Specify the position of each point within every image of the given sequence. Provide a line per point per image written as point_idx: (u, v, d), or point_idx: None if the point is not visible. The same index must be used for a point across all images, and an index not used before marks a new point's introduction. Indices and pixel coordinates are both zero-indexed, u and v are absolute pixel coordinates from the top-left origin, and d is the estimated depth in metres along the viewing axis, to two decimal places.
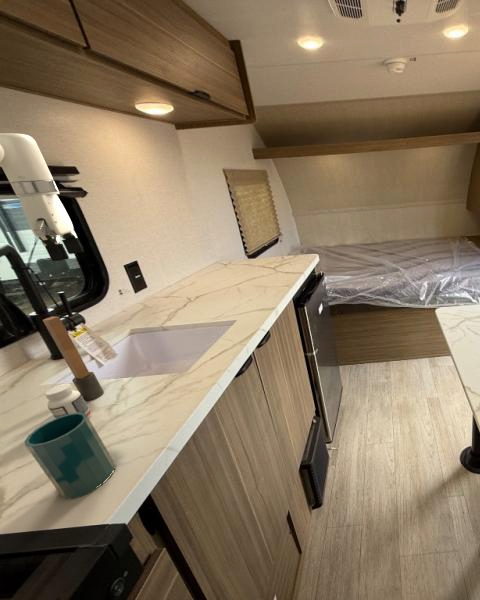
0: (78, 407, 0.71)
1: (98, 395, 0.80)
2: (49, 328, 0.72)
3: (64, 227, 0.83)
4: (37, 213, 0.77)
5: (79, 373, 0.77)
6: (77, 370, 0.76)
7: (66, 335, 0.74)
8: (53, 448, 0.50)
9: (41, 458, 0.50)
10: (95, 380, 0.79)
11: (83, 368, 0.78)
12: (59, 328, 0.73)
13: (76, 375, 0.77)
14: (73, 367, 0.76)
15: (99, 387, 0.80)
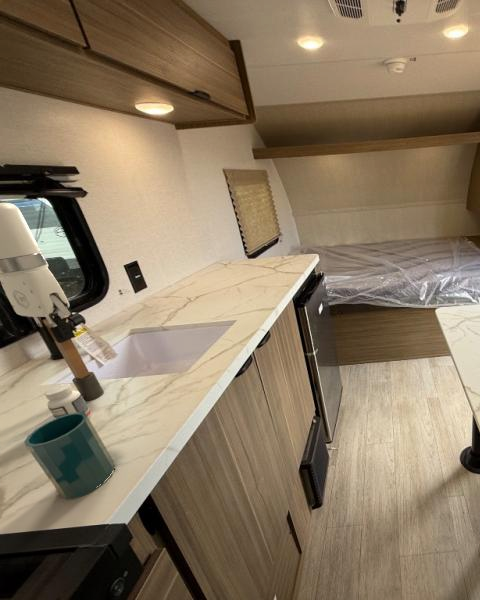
0: (78, 407, 0.71)
1: (98, 395, 0.80)
2: (49, 328, 0.72)
3: None
4: (49, 288, 0.68)
5: (79, 373, 0.77)
6: (77, 370, 0.76)
7: None
8: (53, 448, 0.50)
9: (41, 458, 0.50)
10: (95, 380, 0.79)
11: (83, 368, 0.78)
12: None
13: (76, 375, 0.77)
14: (73, 367, 0.76)
15: (99, 387, 0.80)
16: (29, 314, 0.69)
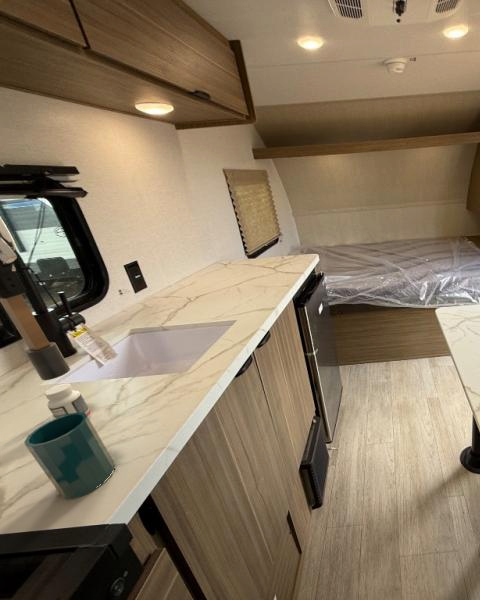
0: (78, 407, 0.71)
1: (62, 373, 0.60)
2: None
3: None
4: None
5: (34, 342, 0.57)
6: (31, 338, 0.57)
7: None
8: (53, 448, 0.50)
9: (41, 458, 0.50)
10: (57, 353, 0.60)
11: (40, 336, 0.58)
12: None
13: (30, 345, 0.58)
14: (25, 333, 0.57)
15: (63, 362, 0.61)
16: None
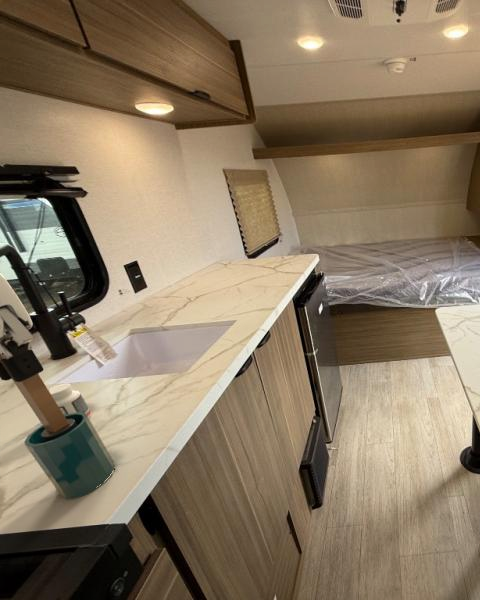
0: (78, 407, 0.71)
1: None
2: None
3: None
4: None
5: (52, 424, 0.51)
6: (48, 421, 0.51)
7: None
8: (53, 448, 0.50)
9: (41, 458, 0.50)
10: None
11: (58, 416, 0.52)
12: None
13: (46, 427, 0.51)
14: (42, 415, 0.50)
15: None
16: None
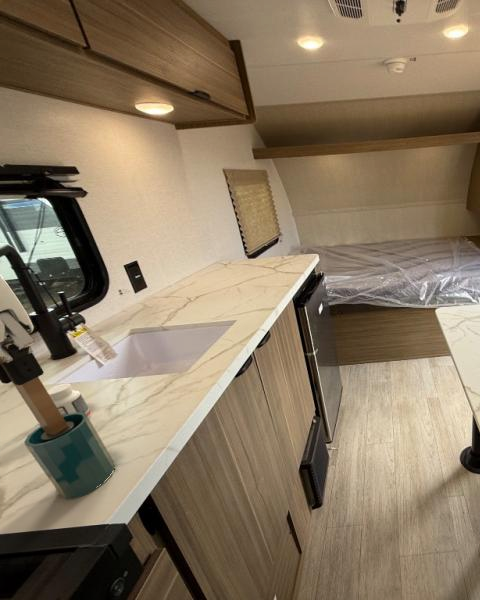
0: (78, 407, 0.71)
1: None
2: (2, 362, 0.47)
3: None
4: None
5: (51, 427, 0.51)
6: (48, 423, 0.51)
7: None
8: (53, 448, 0.50)
9: (41, 458, 0.50)
10: None
11: (57, 419, 0.52)
12: None
13: (46, 430, 0.52)
14: (42, 418, 0.50)
15: None
16: None
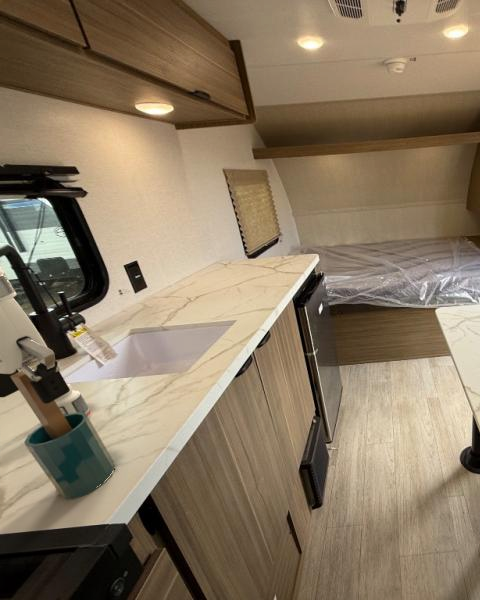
0: (78, 407, 0.71)
1: None
2: (20, 387, 0.48)
3: None
4: (16, 330, 0.44)
5: None
6: None
7: None
8: (53, 448, 0.50)
9: (41, 458, 0.50)
10: None
11: None
12: None
13: None
14: None
15: None
16: None
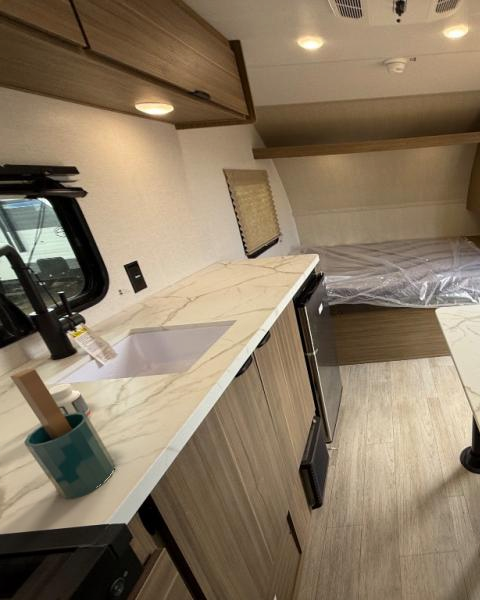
0: (78, 407, 0.71)
1: None
2: (20, 387, 0.48)
3: None
4: None
5: None
6: None
7: (47, 395, 0.51)
8: (53, 448, 0.50)
9: (41, 458, 0.50)
10: None
11: None
12: (36, 386, 0.49)
13: None
14: None
15: None
16: None
